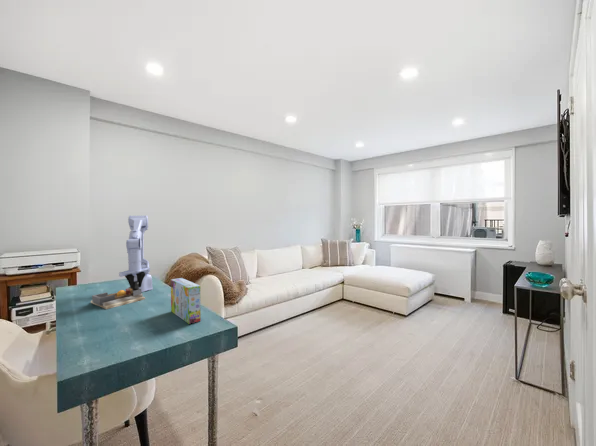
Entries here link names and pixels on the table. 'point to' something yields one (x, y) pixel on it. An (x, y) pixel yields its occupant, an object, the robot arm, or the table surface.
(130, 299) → the beige grooved board
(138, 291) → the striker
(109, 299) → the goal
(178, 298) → the snack box
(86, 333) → the table surface
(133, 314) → the table surface
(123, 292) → the ball
